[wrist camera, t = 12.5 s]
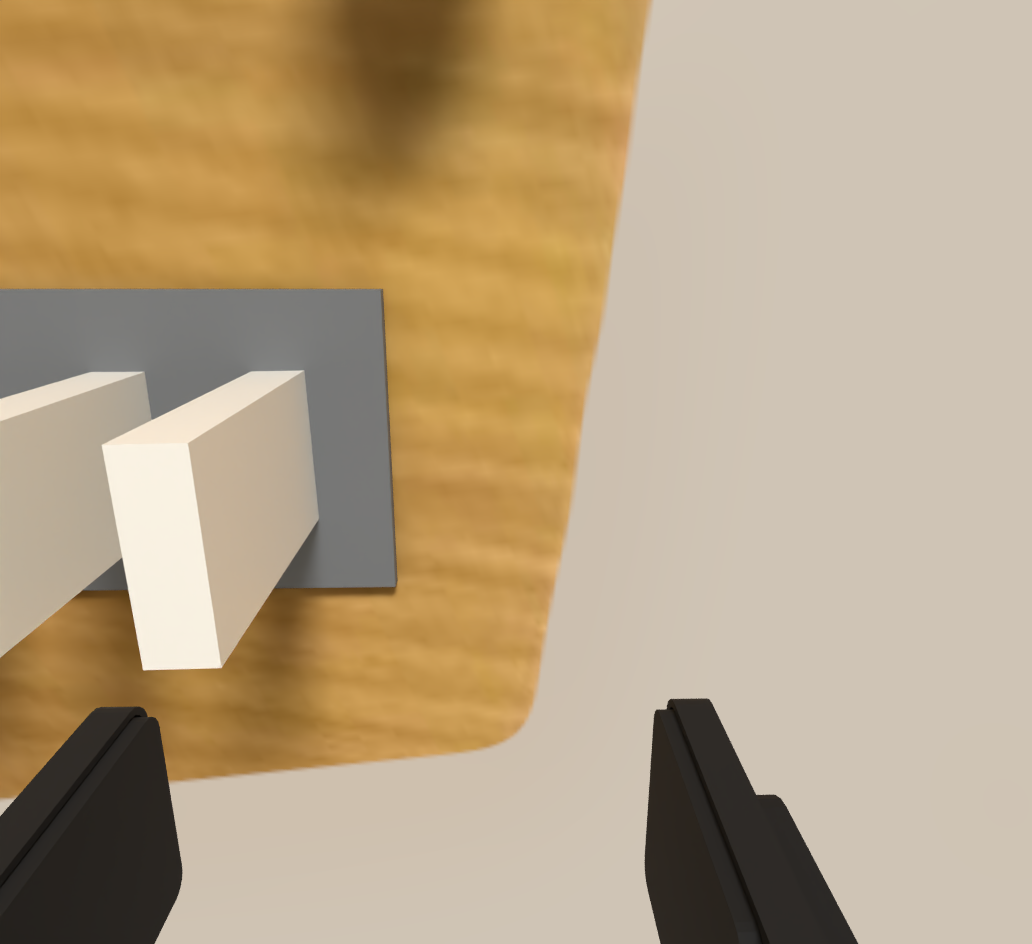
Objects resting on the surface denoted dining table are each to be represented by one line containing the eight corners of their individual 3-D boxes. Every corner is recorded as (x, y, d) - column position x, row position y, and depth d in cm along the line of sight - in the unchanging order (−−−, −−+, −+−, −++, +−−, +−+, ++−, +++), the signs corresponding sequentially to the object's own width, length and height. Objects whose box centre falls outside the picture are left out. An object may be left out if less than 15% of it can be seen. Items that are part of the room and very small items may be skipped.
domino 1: (115, 521, 29) (-98, 673, 19) (90, 371, 27) (-161, 446, 17) (166, 521, 29) (-19, 672, 19) (144, 371, 27) (-72, 445, 17)
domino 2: (268, 520, 29) (143, 670, 19) (251, 371, 28) (101, 445, 17) (319, 518, 29) (221, 667, 19) (304, 370, 28) (188, 443, 17)
